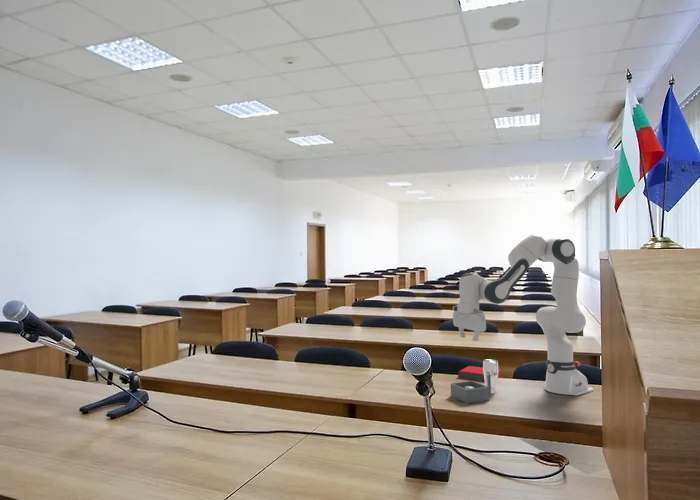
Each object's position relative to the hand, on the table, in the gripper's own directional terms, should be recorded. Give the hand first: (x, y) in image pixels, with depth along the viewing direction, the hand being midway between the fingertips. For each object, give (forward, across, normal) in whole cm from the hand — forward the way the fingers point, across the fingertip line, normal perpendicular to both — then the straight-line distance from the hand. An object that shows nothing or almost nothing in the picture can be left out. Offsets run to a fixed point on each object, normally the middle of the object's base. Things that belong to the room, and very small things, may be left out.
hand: (469, 339), depth 216 cm
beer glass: (+27, +4, -15) cm, 31 cm away
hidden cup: (+26, 0, 0) cm, 26 cm away
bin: (+27, 0, 0) cm, 27 cm away
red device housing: (+27, +27, -26) cm, 46 cm away
